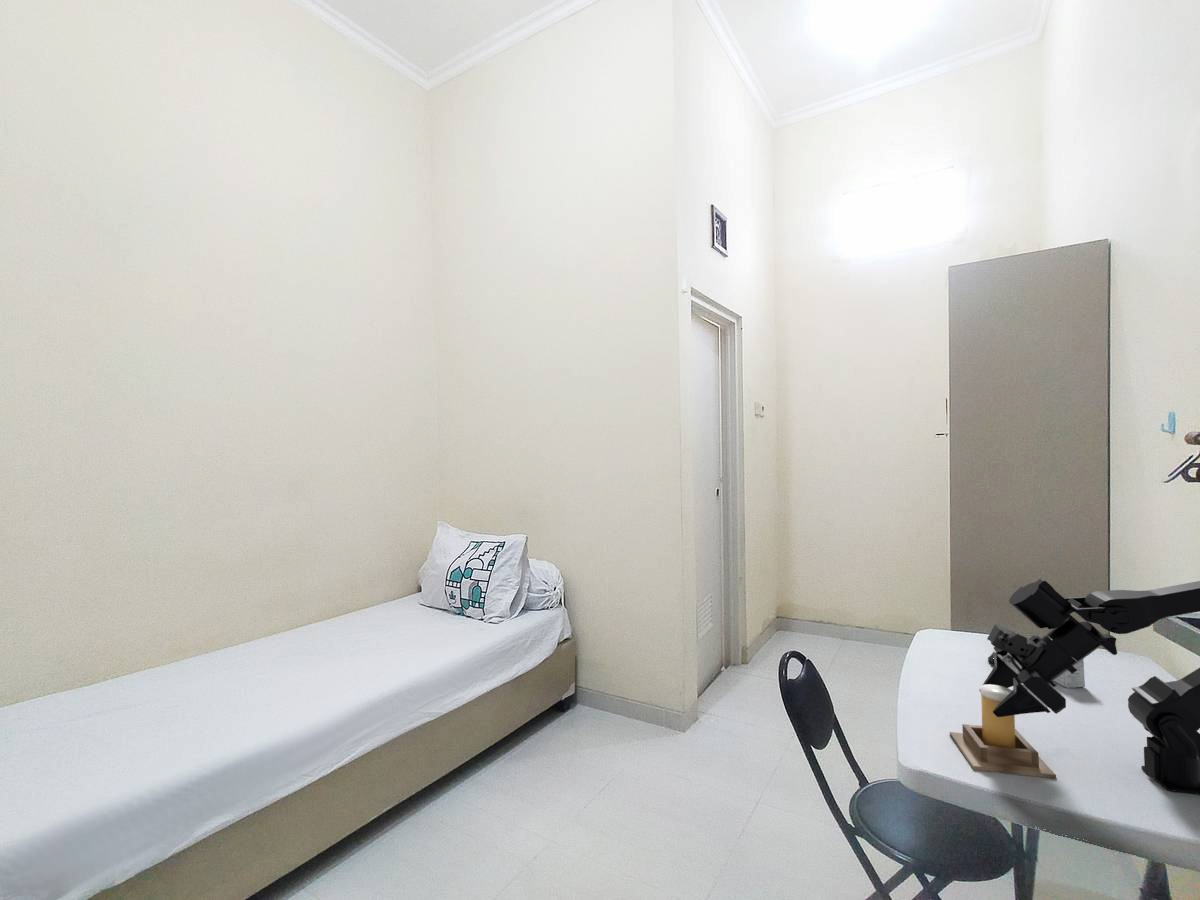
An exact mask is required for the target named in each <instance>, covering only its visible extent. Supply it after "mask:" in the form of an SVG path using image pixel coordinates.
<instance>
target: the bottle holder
mask: <svg viewBox="0 0 1200 900" xmlns="http://www.w3.org/2000/svg"><path fill="white" fill-rule="evenodd" d="M949 736H950V737H951V739H952V741H953V740H954V741H953V743H955V745H956V746H957V748H958V749H959V751H960V752H961V753H962V755H963V757H964V756H965V760H966V761H967V763H968V764H969V766H971V768H972V769H973V770H974V771H975V770H976V771H983V772H993V773H1000V774H1002V773H1003V774H1011V775H1020V776H1027V777H1028V776H1031V777H1036V778H1037V777H1038V778H1039V777H1040V778H1046V779H1047V777H1048V779H1055V778H1056V779H1057V774H1056V773H1055V772H1054V771H1053V770H1052V769H1051V768H1050V767H1049V765H1047V763H1046V762H1045V761H1044V760H1043V759H1042V758H1041V757H1040V756H1039V752H1038V751H1037V750H1036V749H1035V747H1033V746H1032V745H1031V744H1030V743H1029V741H1027V740H1026V738H1025V737H1024V736H1023V735H1022V734H1021V733H1020V732H1019V731H1018V730H1017V728H1015V747H1016V748H1009V747H998V746H988V745H984V744H983V740H982V725H978V724H977V725H976V724H967V723H966V724H965V723H962V732H952V731H950V732H949Z"/></svg>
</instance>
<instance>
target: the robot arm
mask: <svg viewBox="0 0 1200 900" xmlns="http://www.w3.org/2000/svg"><path fill="white" fill-rule="evenodd" d="M1008 603H1009V604H1010V605H1011V606H1012V607H1013V608H1014V609H1015V610H1017V611H1018V612H1019V613H1020V614H1022V616H1023V617H1025V618H1026V619H1028V621H1030V622H1031V623H1032V624H1033V626H1035V627H1036V628H1038V629H1045V628H1047V629H1048V630H1050V631H1048V632H1047V633H1046V634H1044V635H1043V636H1041V637H1040V636H1039V635H1038V634H1037V635H1032V636H1031V637H1029V638H1027V637H1026V636H1025V635H1024V634H1019V633H1018V632H1017V631H1016V630H1015V631H1012V630H1010V629H1008V628H1006V627H1003V626H1001V625H999V624H997V623H995V624H994V626H993V628H992V629H991V630H990V632H989V634H988V637H987V638H986V640H987V641H989V642H990V644H991V646H993V652H992V653H993V655H994V662H995V663H994V666H993V668H992V669H991V671H990V672H989V674H988V676H987V677H986V679H985V680H984V682H983V683H982V685H986V684H991V685H998V686H1003V687H1006V688H1008V689H1010V688H1011V687H1013V688H1012V689H1011V690H1012V691H1011V692H1010V693H1009V694H1008V695H1007V696H1006V697H1005V698H1004V699H1003V700H1002V701H1001V702H1000V703H999V704H998V705H997V707H996V708H995V709H994V710H993V713H994V714H995V715H996V716H997V717H1004V716H1011V715H1015V716H1016V715H1024V714H1033V713H1034V714H1035V713H1047V714H1049V713H1051V711H1052V712H1053V713H1054V714H1056V715H1057V714H1058V713H1060V712H1062V711H1063V710H1064V709H1066V707H1067V700H1066V698H1065V697H1064V696H1063V694H1062V693H1060V691H1059V690H1057V689H1056V686H1057V683H1056V682H1054V680H1055V679H1056V678H1058V677H1059V676H1060V675H1062V674H1063V673H1065V672H1066V671H1067V670H1068V671H1070V672H1071V673H1072V674H1073V673H1074V672H1076V671H1077V669H1075V668H1074V667H1073V666H1074V665H1075V664H1077V663H1078V662H1080V661H1081V660H1082V659H1083V660H1085V658H1087V657H1088V656H1090V655H1091V654H1092V653H1093V652H1094V651H1096V650H1098V649H1099V648H1100V647H1102V649H1104V650H1106V651H1107V652H1109V653H1110V654H1111V655H1113V656H1116V655H1117V654H1118V649H1117V645H1116V644H1117V642H1116V641H1117V638H1116V637H1115V636H1113V635H1111V634H1110V633H1112V634H1115V635H1116V634H1118V635H1127V634H1130V633H1134V632H1138V631H1140V630H1142V629H1146V628H1148V627H1151V626H1152V625H1154V624H1156V623H1157V622H1159V621H1161V620H1163V619H1167V618H1169V617H1174V616H1175V617H1176V616H1182V615H1188V614H1193V613H1200V580H1198V581H1191V582H1187V583H1182V584H1181V583H1180V584H1174V585H1170V586H1165V587H1160V588H1154V589H1148V590H1129V589H1127V590H1126V589H1114V590H1112V589H1111V590H1096V591H1095V590H1094V591H1093V592H1090V593H1088V594H1087V595H1086V596H1077V597H1076V596H1075V597H1074V596H1072V597H1063V596H1062V595H1061V594H1060V593H1059V592H1058V591H1056V590H1055V589H1054V587H1053V586H1052V585H1051V584H1050V583H1049V582H1048V581H1046V580H1045V579H1043V578H1039V579H1038V580H1036V581H1034V582H1031V583H1028V584H1026V585H1024V586H1020V587H1019V588H1018V589H1016V590H1015V592H1013V593H1012V594H1011V596H1010V598H1009V600H1008ZM1072 613H1074V614H1075V615H1077V616H1078V617H1079V618H1081V619H1083V620H1084V621H1079V620H1078V619H1076V618H1075V617H1074V616H1072V615H1071V614H1072ZM1091 623H1093V624H1096V625H1098V626H1100V627H1101V628H1102V629H1104V630H1105V631H1108V632H1110V633H1106V634H1105V633H1102V631H1100V630H1099V629H1098V628H1096V627H1095V626H1094V625H1093V624H1091ZM1051 639H1052V640H1051ZM994 651H995V652H994ZM996 652H997V653H998V655H997V654H996ZM1072 657H1073V658H1074V659H1075V660H1074V659H1073V658H1072ZM1077 661H1078V662H1077ZM1131 689H1132V691H1133V693H1132V694H1131V695H1129V696H1128V699H1127V703H1128V704H1127V707H1128V710H1129V713H1130V714H1131V715H1132V717H1134V719H1136V720H1137V721H1138V723H1140V724H1141V725H1142V726H1143V728H1144V730H1146V731H1147V732H1149V733H1150V735H1152V736H1146V746H1144V747H1143V764H1144V765H1141V770H1142V771H1143V772H1144V773H1146V774H1147V775H1148V776H1149V777H1150V778H1152V779H1153V780H1154V781H1155V782H1157V783H1158V784H1159V785H1160V786H1162V787H1163V788H1164V789H1165V790H1168V791H1171V792H1180V793H1190V794H1199V795H1200V732H1198V731H1199V730H1200V667H1199V668H1197V669H1195V670H1194V671H1192V672H1190V673H1188V674H1187V675H1185V676H1184V677H1182V678H1180V679H1178V680H1174V681H1168V682H1167V681H1166V682H1165V681H1163V680H1162V679H1160V677H1157V676H1156V675H1155V676H1152V677H1150V678H1148V679H1147V680H1146V682H1144V683H1143V684H1140V685H1139V686H1135V687H1132V688H1131ZM979 692H980V689H979Z"/></svg>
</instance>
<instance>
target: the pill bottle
mask: <svg viewBox="0 0 1200 900" xmlns="http://www.w3.org/2000/svg"><path fill="white" fill-rule="evenodd" d="M979 690H980V691H979V692H980V694H981V695H980V697H981V726H982V740H983V744H984V745H988V746H998V747H1009V748H1016V747H1015V729H1016V723H1015V722H1016V720H1015V718H1016V715H1011V716H1004V717H997V716H996V715H995V714H994V713H993V710H994V709H995V708H996V707H997V705H998V704H999V703H1000V702H1001V701H1002V700H1003V699H1004V698H1005V697H1006V696H1007V695H1008V694H1009V693H1010V692H1011V691H1012V690H1013V689H1010V688H1006V687H1003V686H998V685H991V684H986V685H983V684H981V685H980V688H979Z"/></svg>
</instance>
